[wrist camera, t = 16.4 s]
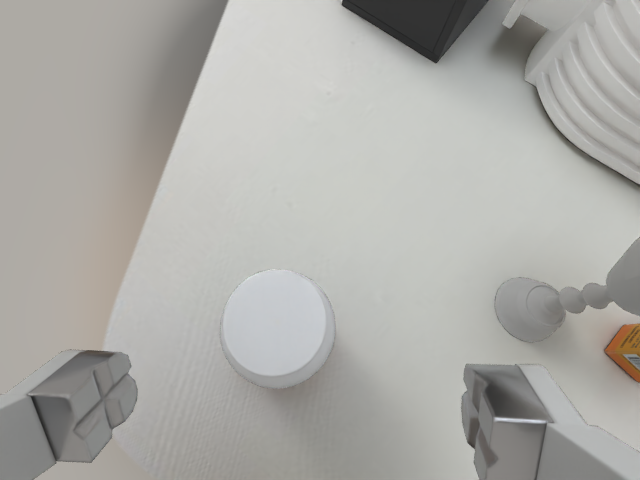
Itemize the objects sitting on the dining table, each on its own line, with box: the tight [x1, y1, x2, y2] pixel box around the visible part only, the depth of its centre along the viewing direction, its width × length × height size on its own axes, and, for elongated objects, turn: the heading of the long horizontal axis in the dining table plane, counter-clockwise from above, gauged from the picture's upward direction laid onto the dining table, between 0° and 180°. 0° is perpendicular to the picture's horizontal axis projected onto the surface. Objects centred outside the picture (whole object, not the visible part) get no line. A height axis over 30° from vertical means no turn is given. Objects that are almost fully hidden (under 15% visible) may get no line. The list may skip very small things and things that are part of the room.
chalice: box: [495, 237, 640, 342], centre depth 19 cm, size 7×7×18 cm
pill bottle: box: [220, 269, 336, 388], centre depth 20 cm, size 6×6×11 cm
